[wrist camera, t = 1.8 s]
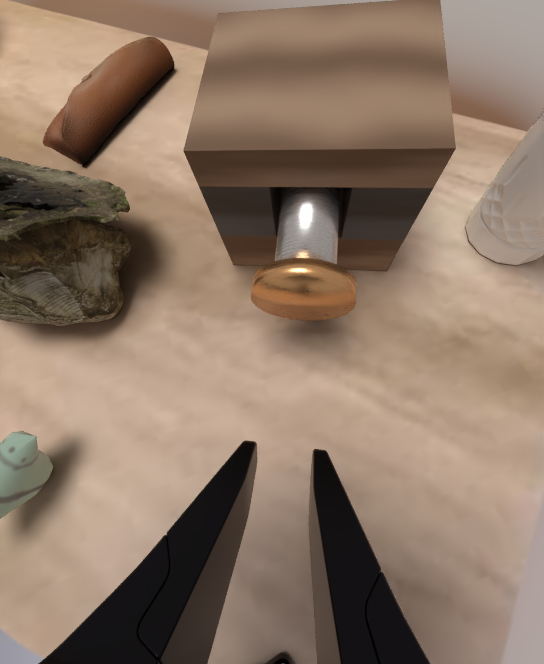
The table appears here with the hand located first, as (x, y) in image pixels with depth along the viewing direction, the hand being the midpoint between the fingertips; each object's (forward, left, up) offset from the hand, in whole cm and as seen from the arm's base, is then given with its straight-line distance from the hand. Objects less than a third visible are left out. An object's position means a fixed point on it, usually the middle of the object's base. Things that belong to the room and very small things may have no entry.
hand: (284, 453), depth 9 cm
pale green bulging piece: (+8, +19, -14) cm, 25 cm away
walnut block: (+16, -13, -14) cm, 25 cm away
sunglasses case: (+44, -2, -14) cm, 47 cm away
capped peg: (+11, -9, -10) cm, 17 cm away
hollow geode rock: (+29, +13, -14) cm, 35 cm away
